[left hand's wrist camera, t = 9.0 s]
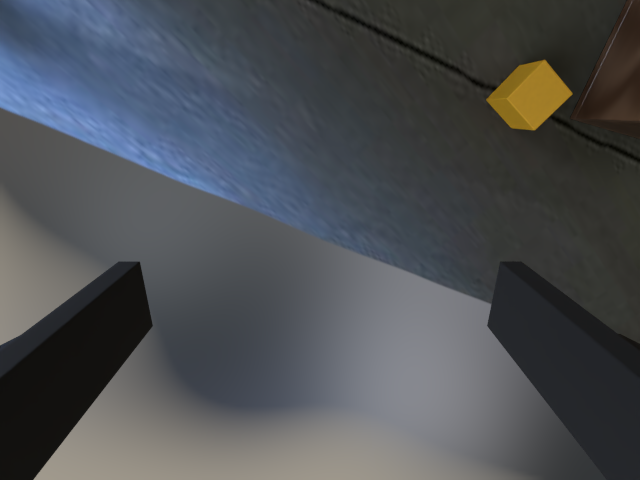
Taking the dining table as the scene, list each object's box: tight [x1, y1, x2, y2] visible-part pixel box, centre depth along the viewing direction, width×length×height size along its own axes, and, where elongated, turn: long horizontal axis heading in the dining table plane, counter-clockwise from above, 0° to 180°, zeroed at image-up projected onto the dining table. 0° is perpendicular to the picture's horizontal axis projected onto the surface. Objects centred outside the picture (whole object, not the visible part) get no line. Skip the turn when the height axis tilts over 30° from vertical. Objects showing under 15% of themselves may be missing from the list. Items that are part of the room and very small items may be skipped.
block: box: [486, 60, 573, 130], centre depth 32 cm, size 4×4×4 cm
